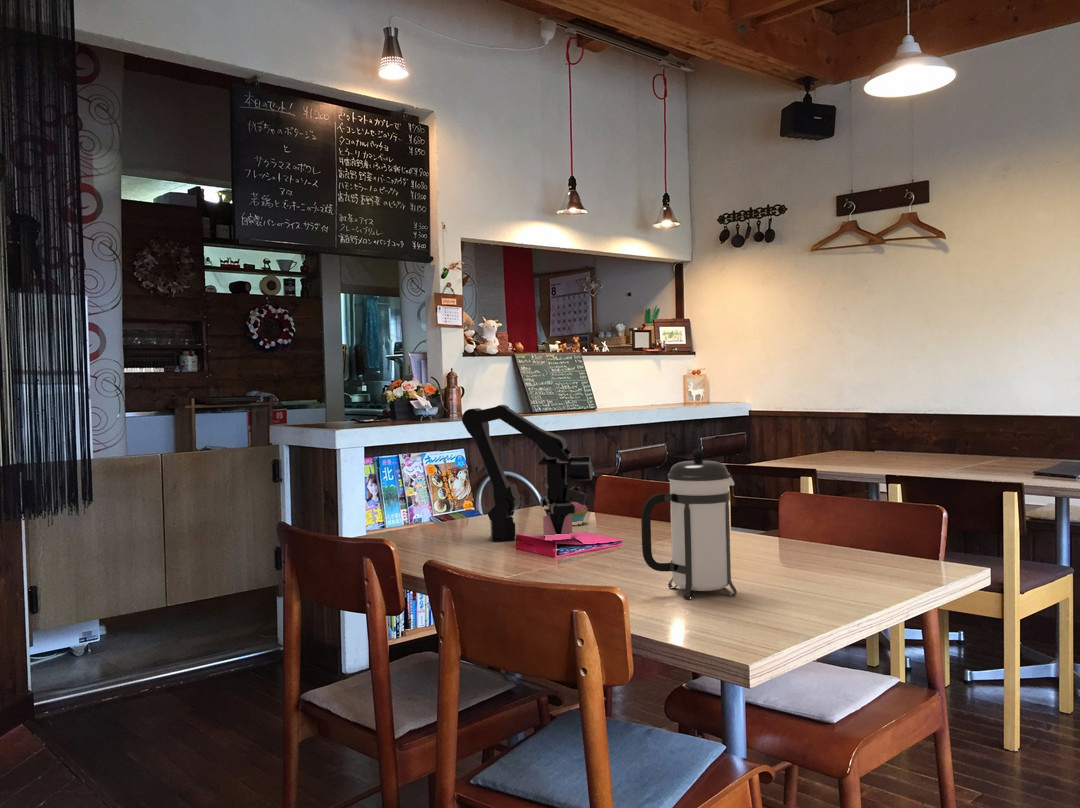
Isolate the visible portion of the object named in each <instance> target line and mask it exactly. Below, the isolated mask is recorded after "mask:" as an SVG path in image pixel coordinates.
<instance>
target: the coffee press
mask: <svg viewBox="0 0 1080 808" xmlns="http://www.w3.org/2000/svg"><path fill="white" fill-rule="evenodd" d="M704 455H705V453H704V451H703V450H702V449H701V448H695V449H693V452H692V456H693V458H694V459H693V460H685V461H680V462H677V463H675V464H673V465H672V466H671V468H670V471H669V473H667V479H668V481H669V491H668V493H657V494H654V495H652V496H650V497H649V498H647V500H646V501H645V503H644V505H643V507H642V511H641V518H640V519H641V521H640V522H641V524H640V525H641V548H642V551H641V552H642V556H643V560H644V562H645V563H646V565H647V566H648V567H649V568H650V569H652V570H653V571H656V572H671V573H672V577H671V579H670V580H669V582H668V584H667V585H668V588H669V589H670V588H671V587H674V589H676V588H677V587H678V588H681V589H684V591H683V599H684V598H689V599H688V600H690V597H692V598H693V597H694V594H695V593H696V592H711V591H719V590H721V591H724V592H725V593H726V594H727V596H729V595H730V594H733V596H732V597H734V596H735V595H737V592H738V590H737V588H736V587H735V586H734V583H733V582H732V574H731V571H732V568H731V566H732V565H731V538H730V537H731V536H730V535H731V533H730V532H731V531H730V527H731V526H730V501H731V494H730V493H731V491H730V490H729V486H730V487H731V486H735V481H734V479H733V478H732V477H731V473H730V472H728V469H727V466H726V465H725V464H723V463H721V462H719V461H715V460H714V461H713V460H703V459H702V458H703V457H704ZM665 502H670V503H669V505H670V539H671V560H670V562H657V561H656V560H655V559H654V557H653V553H652V526H651V525H652V524H651V518H652V516H651V515H652V511H653V508H655V507H656V506H657V505H658V504H660V503H665ZM672 583H674V585H675V586H673V584H672ZM728 586H729V587H730V588H731V590H732V592H733V593H732V592H731V591H730V590H729V589H728V588H727V587H728Z"/></svg>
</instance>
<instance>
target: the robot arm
mask: <svg viewBox="0 0 1080 808" xmlns="http://www.w3.org/2000/svg"><path fill="white" fill-rule="evenodd" d="M496 420H500V421H502V422H504V423H505V424H507V425H508V426H510V427H512V428H513V429H515V430H516V431H517V432H519V433H520V434H522V435H524V436H525V437H526V438H528V439H530V440H531V441H532V442H533V443H535V444H536V446H537V447H538V448H539V449H540V450H541V451H542V453H544V454H545V456H543V457H542V459H541V460H540V461H539V462H538V465H539V466H545V478H546V479H545V480H546V483H544V488H546V495H545V496H544V495H543V496H542V497H541V498H540V500H539V503H540V504H539V505H540V507H543V508H544V507H545V506H546V508H545V509H544V510H543V511H544V512H545V514H546V515H545V516H550V519H551V522H552V524H553V527H554V530H555V532H556V534H561V532H562V527H563V523H564V519H565V517H566V516H567V515H568V514H570V513H575V506H574V505H573V504H572V503H571V502H577V503H580V504H581V505H585V503H586V500H587V497H588V494H586V493H584V492H581V491H580V487H577V486H575V485H574V486H571V488H570V485H569V484H568V483H567V477H568V478H570V479H571V481H592V480H593V476H594V467H593V463H592V460H591V458H592V456H591V455H584V456H575V455H573V454H574V453H572V451H570V448H568V445H567V440H566V439H565V438H564V437H563V436H561V435H558V434H557V433H554V432H551V431H548V430H546V429H542V428H541V427H539V426H538V425H536V424H534V423H533V422H531V421H530V420H528V419H527V418H525V417H523V416H522V415H520V414H519V413H518V412H515V411H514V410H513V409H511V408H510V407H509V406H508V405H506V404H499V405H497V406H493V407H490V408H485V409H482V408H478V407H477V408H476V407H475V408H469V409H466V410H465V411H464V412H463V414H462V416H461V421H462V424H463V425H464V428H465V429H466V431H467V433H468V434H469V436H471V437H472V439H473V440H474V441H475V443H476V447H477V449H478V451H479V453H480V456H481V460H482V462H483V464H484V467H485V469H486V471H487V474H488V477H489V480H490V482H491V485H492V493H493V503H494V506H493V507H492V508H491V509H490V510H489V511H488V512H487V516H488V518H489V523H490V536H489V539H490V541H492V542H504V541H505V542H507V541H515V540H516V538H515V537H516V536H517V535H516V523H515V522H514V517H513V516H514V513H515V511H516V510H518V509H519V507H520V504H521V497H522V496H521V494H520V493H519V491H518V486H517V484H516V483H514V484H512V485H511V483H510V482H509V480H508V479H507V476H506V474H505V471H504V469H503V466H502V464H501V462H500V459H499V456H498V453H497V451H496V449H495V447H494V444H493V441H492V439H491V435H490V424H489V423H490V422H492V421H496Z"/></svg>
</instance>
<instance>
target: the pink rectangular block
mask: <svg viewBox="0 0 1080 808" xmlns="http://www.w3.org/2000/svg"><path fill="white" fill-rule="evenodd" d="M542 524H543V527H542V528H543V529H542V530H543V536H544V535H555V534H556V532H555V530H554V527H553V524H552V522H551V519H550V516H547V515H544V516H542ZM570 533H572V534H573V525H572V515H567V516H566V517H565V519H564V523H563V527H562V532H561V534H570Z"/></svg>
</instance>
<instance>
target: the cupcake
mask: <svg viewBox="0 0 1080 808" xmlns="http://www.w3.org/2000/svg"><path fill="white" fill-rule="evenodd" d="M570 503H572V504H573V505H574V506H575V513H570V514H568V515H572V522H577V521H583V522H584V520H585V517H586V515H587V514H588V510H589V508H588V507H587V505H586V504H584V505H581V504H580V503H577V502H574V501H570Z"/></svg>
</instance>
